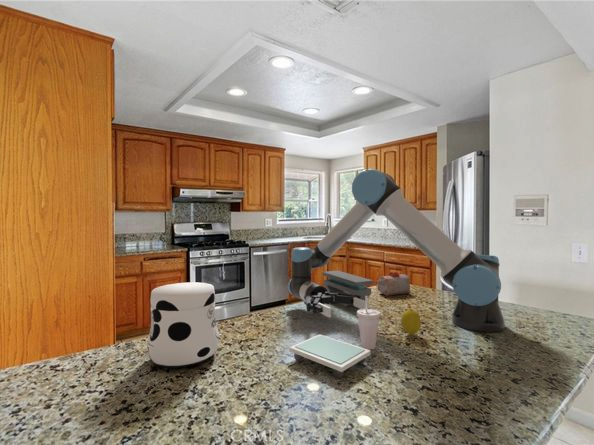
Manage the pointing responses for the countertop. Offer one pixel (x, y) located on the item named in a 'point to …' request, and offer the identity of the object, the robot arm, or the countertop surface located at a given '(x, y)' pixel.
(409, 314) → the lemon
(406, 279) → the grey boxy piece
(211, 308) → the milk container
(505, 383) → the countertop surface
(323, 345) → the tray
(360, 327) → the smoothie
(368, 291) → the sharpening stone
